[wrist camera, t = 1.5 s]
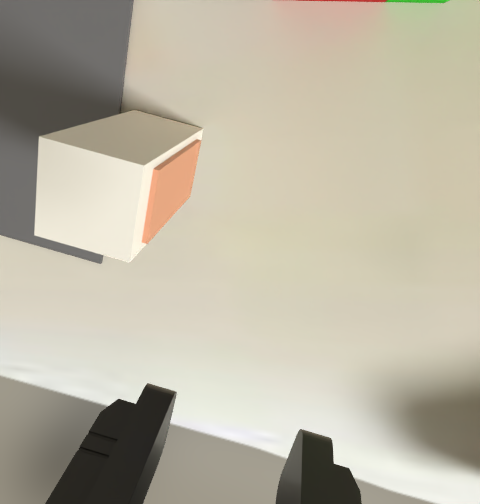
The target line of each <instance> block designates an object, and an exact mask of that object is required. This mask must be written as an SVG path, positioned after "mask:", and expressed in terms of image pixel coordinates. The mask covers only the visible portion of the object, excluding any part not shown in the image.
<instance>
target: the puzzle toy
mask: <svg viewBox="0 0 480 504" xmlns="http://www.w3.org/2000/svg"><path fill="white" fill-rule="evenodd" d="M298 1H357V2H416V3H445V2H447V1H449V0H298Z"/></svg>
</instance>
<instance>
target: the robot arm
mask: <svg viewBox="0 0 480 504" xmlns="http://www.w3.org/2000/svg"><path fill="white" fill-rule="evenodd" d="M175 399H176V392H175V391H172V390H169V389H165V388H162V387H159V386H155V385H152V384H147V385H146V386H145V388H144V390H143V391H142V393H141V395H140V397H139V399H138V401H137V403H136V404H134V403H131V402H127V401H124V400H121V399H118V400H116V401H115V402H114V403H112V404H111V405H110V406H108V407H107V408H106V409H104V410H103V411H102V412H100V414H99V416H98V417H97V419H96V421H95V422H94V424H93V426H92V427H91V429H90V430H89V433H88V435H87V436H86V437H85V439H84V441H83V442H82V444H81V445H80V448H79V450H78V451H77V452H76V454H75V455H74V457H73V459H72V460H71V462H70V464H69V465H68V467H67V469H66V470H65V472H64V474H63V475H62V477H61V479H60V480H59V482H58V484H57V485H56V487H55V489H54V490H53V492H52V493H51V495H50V497H49V498H48V500H47V502H46V504H143V502H144V499H145V496H146V494H147V492H148V489H149V486H150V484H151V481H152V478H153V476H154V473H155V471H156V468H157V465H158V463H159V460H160V457H161V454H162V451H163V448H164V445H165V441H166V437H167V433H168V429H169V425H170V420H171V416H172V412H173V407H174V403H175ZM276 504H362V503H361V494H360V490H359V488H358V486H357V484H356V482H355V479H354V477H353V475H352V473H351V471H350V469H349V468H346V467H343V466H339V465H336V464H334V462H333V444H332V440H331V438H329V437H325V436H322V435H319V434H315V433H312V432H308V431H305V430H302V429H300V430H299V432H298V434H297V436H296V439H295V441H294V444H293V446H292V449H291V451H290V454H289V456H288V459H287V461H286V464H285V466H284V469H283V471H282V474H281V477H280V481H279V485H278V490H277V497H276Z"/></svg>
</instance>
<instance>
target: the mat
mask: <svg viewBox="0 0 480 504" xmlns="http://www.w3.org/2000/svg"><path fill="white" fill-rule="evenodd" d="M133 1H134V0H0V235H2V236H6V237H9V238H13V239H16V240H20V241H23V242H27V243H30V244H33V245H37V246H40V247H44V248H47V249H51V250H54V251H58V252H61V253H65V254H68V255H72V256H75V257H79V258H82V259H86V260H89V261H92V262H96V263H99V264H101V263H102V259H103V255H101V254H98V253H94V252H91V251H87V250H84V249H80V248H77V247H73V246H70V245H66V244H63V243H59V242H56V241H52V240H49V239H45V238H42V237H38V236H35V235H34V230H35V209H36V187H37V166H38V144H39V136H42V135H46V134H50V133H53V132H57V131H60V130H64V129H68V128H71V127H75V126H78V125H82V124H86V123H89V122H93V121H96V120H100V119H103V118H107V117H111V116H114V115H118V114H120V109H121V101H122V92H123V84H124V76H125V67H126V59H127V51H128V42H129V34H130V26H131V17H132V9H133Z"/></svg>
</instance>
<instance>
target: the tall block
mask: <svg viewBox="0 0 480 504" xmlns="http://www.w3.org/2000/svg"><path fill="white" fill-rule="evenodd" d="M202 133H203V128H200V127H196V126H192V125H188V124H185V123H181V122H177V121H174V120H170V119H166V118H163V117H159V116H155V115H152V114H148V113H144V112H141V111H137V110H132V111H129V112H125V113H121V114H118V115H114V116H111V117H107V118H103V119H100V120H96V121H93V122H89V123H86V124H82V125H78V126H75V127H71V128H68V129H64V130H60V131H57V132H53V133H50V134H46V135H42V136H39V144H38V166H37V187H36V209H35V230H34V235H35V236H38V237H42V238H45V239H49V240H52V241H56V242H59V243H63V244H66V245H70V246H73V247H77V248H80V249H84V250H87V251H91V252H94V253H98V254H101V255H105V256H108V257H112V258H115V259H119V260H122V261H125V262H129V263H130V262H131V261H132V259H133V258H134V257H135V256H136V255H137V254H138V253H139V252H140V251H141V249H142V248H143V247H144V246H145V245H146V244H148V242H149V241H150V240H151V239H152V238H153V237H154V236H155V235H156V234H157V232H158V231H159V230H160V229H161V228H162V227H163V226H164V225H165V224H166V222H167V221H168V220H169V219H170V218H171V217H172V216H173V215H174V214H175V212H176V211H177V210H178V209H179V208H180V207H181V206H182V205H183V204H184V202H185V201H186V200H187V199H188V198H189V197H190V194H191V189H192V184H193V179H194V174H195V169H196V164H197V159H198V154H199V149H200V144H201V138H202Z"/></svg>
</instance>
